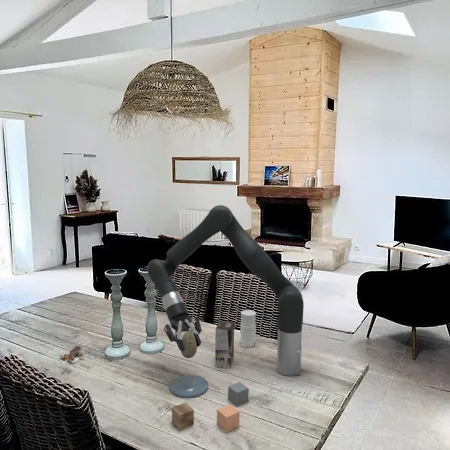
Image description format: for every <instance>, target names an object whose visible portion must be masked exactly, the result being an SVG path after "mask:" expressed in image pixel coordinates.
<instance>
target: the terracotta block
mask: <svg viewBox="0 0 450 450" xmlns="http://www.w3.org/2000/svg"><path fill="white" fill-rule="evenodd" d="M240 413H241V412H240V411H239V410H238V409H237V408H235V407H234V406H232V404H227V405H225V406H223V407H220V408H217V409H216V425H217V426H219V427H220V428H221V429H222V430H223V431H224V432H225V431H226V432H225V433H228V432H230V431H232V430H234V429H236V428H239V427H240V415H241V414H240Z"/></svg>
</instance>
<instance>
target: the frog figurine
mask: <svg viewBox="0 0 450 450" xmlns="http://www.w3.org/2000/svg"><path fill="white" fill-rule="evenodd" d="M81 350H82V346H80V345H79V346H78V345H75V347H74V348H72V349H71V350H70V351H69V354H66V353H65V354H61V355H59V356H60V358H61V359H59V360H58V361H59V364H61V365H70V366H74V365H78V364H80V363H82V362H83V361H85V360H86V359H87V357H88V356H86V355H85V354H84V353H82V352H80V351H81ZM79 357H80V358H81V357H82V358H83V360H81V359H80V358H79Z"/></svg>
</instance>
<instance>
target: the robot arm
mask: <svg viewBox="0 0 450 450" xmlns="http://www.w3.org/2000/svg"><path fill="white" fill-rule="evenodd" d="M218 233H222V235H224V236H225V238H226V239H227V240H228V241H229V242H230V244H231V246H232V247H233V249H234V250H235V253H236V254H237V256H238V257H239V259H240V260H241V262H242V263H243V264H244V266H246V267H247V269H248V270H249V271H250V272H251V273H252V274H253V275H254V276H255V277H256V278H257V279H259V280H260V281H262V282H264V283H265V284H266V285H267V286H268V288H270V289H271V291H272V292H273V293H274V295H275V296H276V298H277V300H278V321H277V322H278V323H277V348H276V349H277V353H276V355H277V356H276V370H277V372H278V374H281V375H283V376H288V377H293V376H300V375H301V369H302V337H303V331H302V330H303V325H304V324H303V323H304V298H303V294H302V292H301V291H300V290H299V288H297V287H296V286H295V285H294V284H293V283H292V282H291V281H290V280H289V279H288V278H287V277H286V276H285V275H284V274H283V273H282V271H281V270H280V269H279V267H278V266H277V265H276V263H275V262H274V261H273V260H272V258H271V257H270V255H269V254H268V253H267V252H266V251H265V250H264V248H263V247H262V246H261V245H260V244H259V243H258V242H257V241H256V240H255V239H254V238H253V237H252V236H251V235H250V234H249V233H248V232H247V230H245V229H244V227H243V226H242V225H241V223H239V221H238V219H237V218H236V217H235V215H234V213H233V212H232V210H231V209H230V208H229V207H228V206H226V205H223V204H221V205H220V204H219V205H215V206H214V207H212V208H211V209H210V210H209V211H208V214H207V215H206V216H205V217H204V218H203V220H202V221H201V222H200V224H198V225H197V226H196V227H195V228H194V229H193V230H191V232H189V233H187V235H185V236H184V237H182V238H181V239H179V241H177V242H176V243H175V244H174V245H172V246H171V247H170V248H169V249H168V250H167V251H166V259H164V261H163V260H162V259H158V258H155V259H152V260H150V261H149V262H148V264H147V267H146V269H147V274H148V276H149V278H150V280H151V282H152V284H153V285H154V286H155V288H156V289H157V290H158V291H157V292H158V294H159V296H160V298H161V302H162V306H163V309H164V311H165V313H166V316H167V319H168V322H169V323H167V324H165V326H164V327H163V331H164V332H165V334H166V337H168V340H169V341H170V342H171V343H173V342H175V343H176V345H177V348H178V349H179V351H180V352H181V351H184V350H185V347H184V344H183V342H182V336H181V335H182V333H183V332H184V333H185V332H187V331H191V332H192V333H193V335H194V336H195V339H196V343H197V348H199V347H200V345H201V344H202V341H201V338H200V336H199V335H200V334H201V333H202V331H203V330H202V327H201V323H200V319H199V317H198V316H196V317H195V318H192V317H191V316H190V314H189V310H188V309H187V307H186V304H185V301H184V299H183V297H182V295H181V293H180V292H179V290H178V286H177V284H176V283H175V281H174V280H173V279H172V278H170V277H172V275H173V274H175V272H176V271H177V269H178V268H179V266H180V265H181V264H182V263H183V262H184V261H186V259H188V258H189V257H190V256H191V255H192V254H193V253H194V252H195V251H196V250H197V249H199V247H201V246H202V245H203V244H204V243H205V242H206V241H208V240H209V239H211V238H212V237H214V236H215V235H216V234H218ZM172 329H173V330H174V332H173V330H172Z"/></svg>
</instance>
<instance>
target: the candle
mask: <svg viewBox="0 0 450 450" xmlns="http://www.w3.org/2000/svg"><path fill="white" fill-rule="evenodd" d="M256 314H257V312H256V311H254V310H251V309H246V310H245V309H244V310H242V311H240V316H241V320H240V321H241V323H240V332H239V333H240V342H241V346H242V347H243V348H253V347H254V346H255V342H256V333H257V330H256V326H257V325H256ZM252 346H253V347H252Z"/></svg>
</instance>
